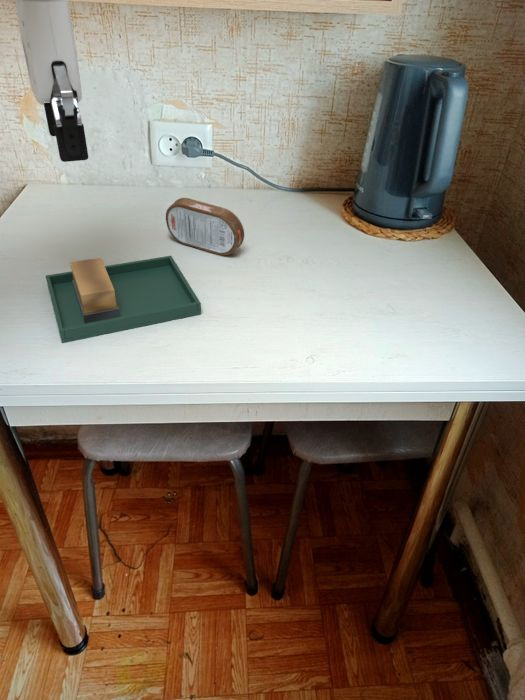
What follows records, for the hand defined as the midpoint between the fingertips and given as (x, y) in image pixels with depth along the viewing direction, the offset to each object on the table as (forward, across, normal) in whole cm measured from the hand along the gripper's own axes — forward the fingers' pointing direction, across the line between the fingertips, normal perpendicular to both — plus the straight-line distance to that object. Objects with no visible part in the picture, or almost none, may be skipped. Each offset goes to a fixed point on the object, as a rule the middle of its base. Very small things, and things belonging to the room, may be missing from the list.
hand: (68, 146), depth 64 cm
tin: (+23, -10, +21) cm, 33 cm away
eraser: (+22, +2, 0) cm, 22 cm away
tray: (+23, +2, +4) cm, 23 cm away
